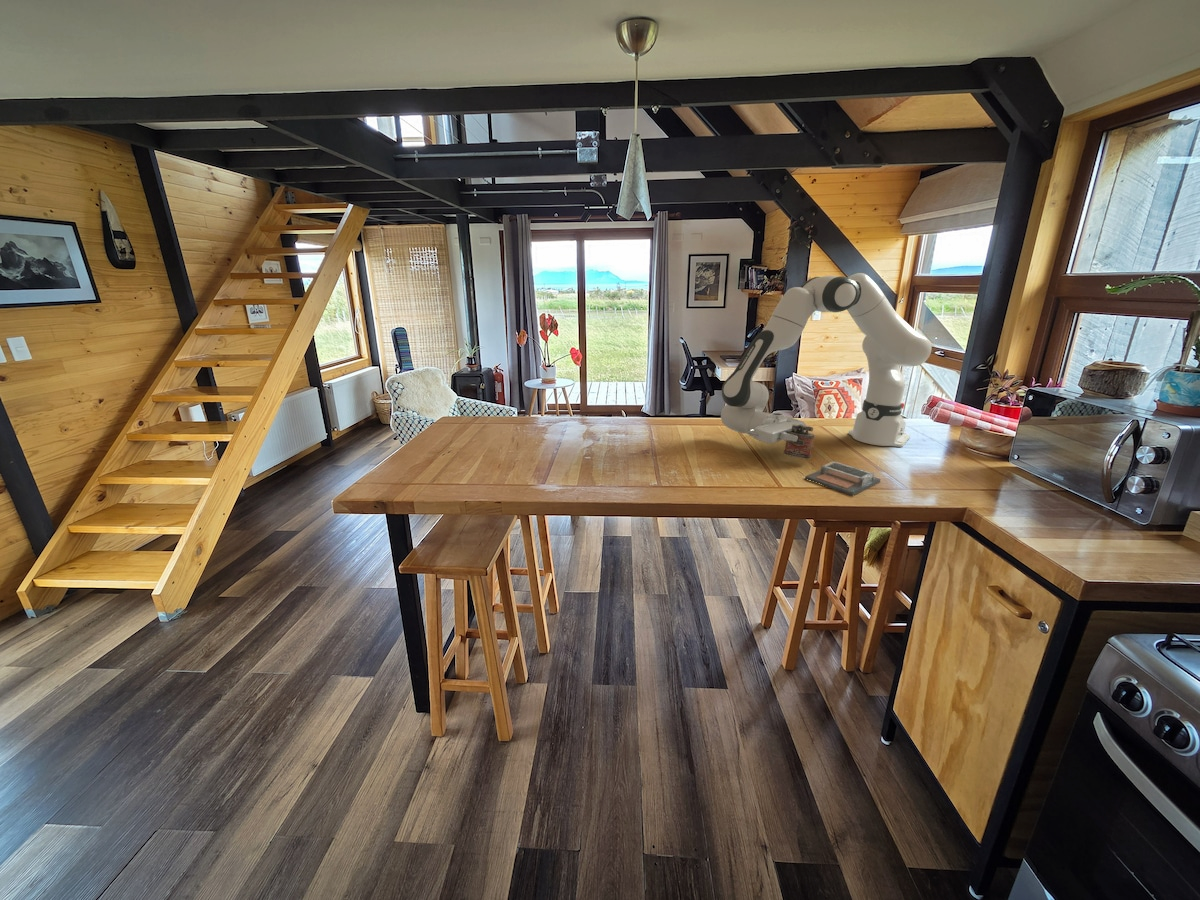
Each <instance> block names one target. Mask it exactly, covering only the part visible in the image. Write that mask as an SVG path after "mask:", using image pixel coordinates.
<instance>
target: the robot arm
mask: <svg viewBox="0 0 1200 900" xmlns="http://www.w3.org/2000/svg"><path fill="white" fill-rule="evenodd" d="M816 311H817V312H820V313H826V312H827V313H830V312H831V313H841V312H844V311H847V313H848V314H849V315H850V317H851V318H852V320H853V321H854V323H855V324H856V325H857V328H858V329H859V330H860V331H861V333H863V334H864V338H863V341H862V346H861V347H862V351H863V353H864V354H865V356H866V359H867V365H868V384H867V388H866V389H867V390H866V395H865V398H864V400H863V402H862V407H861V411H860V412H859V413H857V414H856V417H855V420H854V424H853V428H852V430H849V431H848V433H847V434H848V435H850V436H851V437H852V438H853V439H854V440H856V441H858V442H861V443H864V444H869V445H872V446H873V445H874V446H880V447H881V446H882V447H900V448H903V447H904V445H905V444H906V443H908V441H909V440H910V439H911V435H910V434H908V433H905V428H906V424H907V423H906V421H905V420H904V418H903V417H902V410H903V409H904V408H905V403H904V402H902V400H903V396H904V391H905V388H906V387H905V386H906V381H905V378H904V377H903V375H902V373H901V368H900V367H918V366H921V365H923V364H924V363H925V362H926V361H927V360H928V359H929V358H930V356H931V353H932V349H933V348H932V342H931V341H930V340H929V339H928V338H927V337H925V336H924V335H923V334H921V333H919V332H918V331H916V329H914V328H913V327H912V326H911V325H910V324H909V323H908V322H907V321H906V320H905V319H903V317H902V316H901V315H900V314H898V312H896V311H895V309H894V307H893V306H892V303H890V301H889V300H888V298H887V297H886V295H885V294H884V292H883V291H882V289H881V288H880V286H879V285H878V284H877V283H876V282H875V281H874V280H873V279H872V278H871V277H870V276H869V275H868V274H866V273H863V272H858V273H854V274H852V275H849V276H848V277H847V276H837V275H825V276H815V277H812V278H809V279H807V280H806V281H805V282H804V283H802V285H800V287H799V286H794V287H791V288H789V289H787V290H786V291H785V293H784V294H783V296H782V297H781V299H780V300H779V302H778V303H777V305H776V307H775V308H774V310H773V312H772V314H771V316H770V318H769V320H768V321H767V324H766V325H765V326H764V328H763V329H762V330H761V331H760V332H758V333H757V335H756V336H755V337H754V338H753V340H752V341H751V343H750V345H749V346H748V348H747V349H746V351H745V352H744V355H742V357H741V359H740V360H739V363H738V364H737V366H736V368H734V371H733V372H732V373H731V374H730V375H729V376H728V378H726V379H725V381H724V382H723V384H722V387H721V396H722V400H723V402H724V403H725V404H726V405H724V406H723V408H722V410H721V412H720V419H721V422H722V424H723V426H725V427H726V428H727V429H729V430H731V431H734V432H737V433H739V434H746V435H749V436H750V437H753V439H755V440H756V441H759V442H762V443H765V444H768V445H769V444H774V443H777V442H780V441H786V440H790V441H794V442H796V441H798V440H799V435H795V434H793V435H792V434H787V431H788V430H792V425H793V424H794V425H799V424H802V425H803V426H807V424H806V423H805V422H804V421H803V420H800V419H797V418H793V417H790V416H785V414H784V413H781V412H780V413H778V412H777V413H771V412H765V409H766V406H767V405H768V403H769V400H770V392H769V389H768V386H766V385H765V384H763V383H760V382H758V381H755V380H753V378H754V376H755V375H756V373H757V371H758V370H759V368H760V367H761V364H762V363H763V361H764V360H765V359H766V357H768V355H770V354H772V353H774V352H776V351H784V350H787V349H789V348H791V347H793V346H794V345H795V344H796V342H797V341H798V340H799V339H800V337H801V335H802V333H803V331H804V329H805V327H806V325H807V324H808V320H809V318H810V317H811V316H812V315H813V314H814V313H815V312H816ZM794 431H796V429H795V430H794ZM804 432H805V430H804ZM909 438H910V439H909ZM908 439H909V440H908ZM907 440H908V441H907ZM902 446H903V447H902Z"/></svg>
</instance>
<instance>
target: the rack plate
mask: <svg viewBox="0 0 1200 900" xmlns="http://www.w3.org/2000/svg"><path fill="white" fill-rule="evenodd" d="M805 479H808V480H811V481H814V482H817V483H820V484H822V485H824V486H823V487H825V486H827V487H826V488H828V487H829V488H828V489H831V488H832V489H831V490H834V489H835V490H834V491H837V492H839V491H840V493H842V492H843V493H842V494H845V493H846V495H848V494H849V495H848V496H851V495H854V496H856V495H858V494H859V493H862V492H864V491H866V490H868V489H870V488H871V487H872V488H873V486H875V484H876V485H877V484H879V483H881V478H878V477H875V473H874V472H871V471H867V470H864V469H860V468H859V467H857V468H856V467H854V466H851V465H848V464H844V463H841V462H839V461H833V460H832V461H831V462H829V463H828V462H827V463H825V464H824V465H821V467H820V469H819V470H817V471H815V472H812V473H809V474H807V475H805V477H804V480H805ZM808 480H807V481H808ZM811 481H810V482H811ZM814 482H813V483H814ZM817 483H816V484H817ZM822 485H821V486H822ZM857 493H858V494H857ZM855 494H856V495H855Z"/></svg>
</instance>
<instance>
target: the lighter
mask: <svg viewBox="0 0 1200 900" xmlns="http://www.w3.org/2000/svg"><path fill="white" fill-rule="evenodd" d="M795 429H796V431H794V430H795ZM804 430H805V432H804ZM813 431H814V426H810V425H809V426H808V425H806V426H803V425H802V424H799V425H794V424H793V425H792V430H788V431H787V434H792V435H793V434H795V435H799V440H798V441H796V442H794V441H790V440H785V447H784V450H783V455H785V456H789V457H795V458H801V459H806V460H808V459H811V456H812V454H811V452H812V447H813V443H814V439H815V434H814V433H811V432H813Z"/></svg>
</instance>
